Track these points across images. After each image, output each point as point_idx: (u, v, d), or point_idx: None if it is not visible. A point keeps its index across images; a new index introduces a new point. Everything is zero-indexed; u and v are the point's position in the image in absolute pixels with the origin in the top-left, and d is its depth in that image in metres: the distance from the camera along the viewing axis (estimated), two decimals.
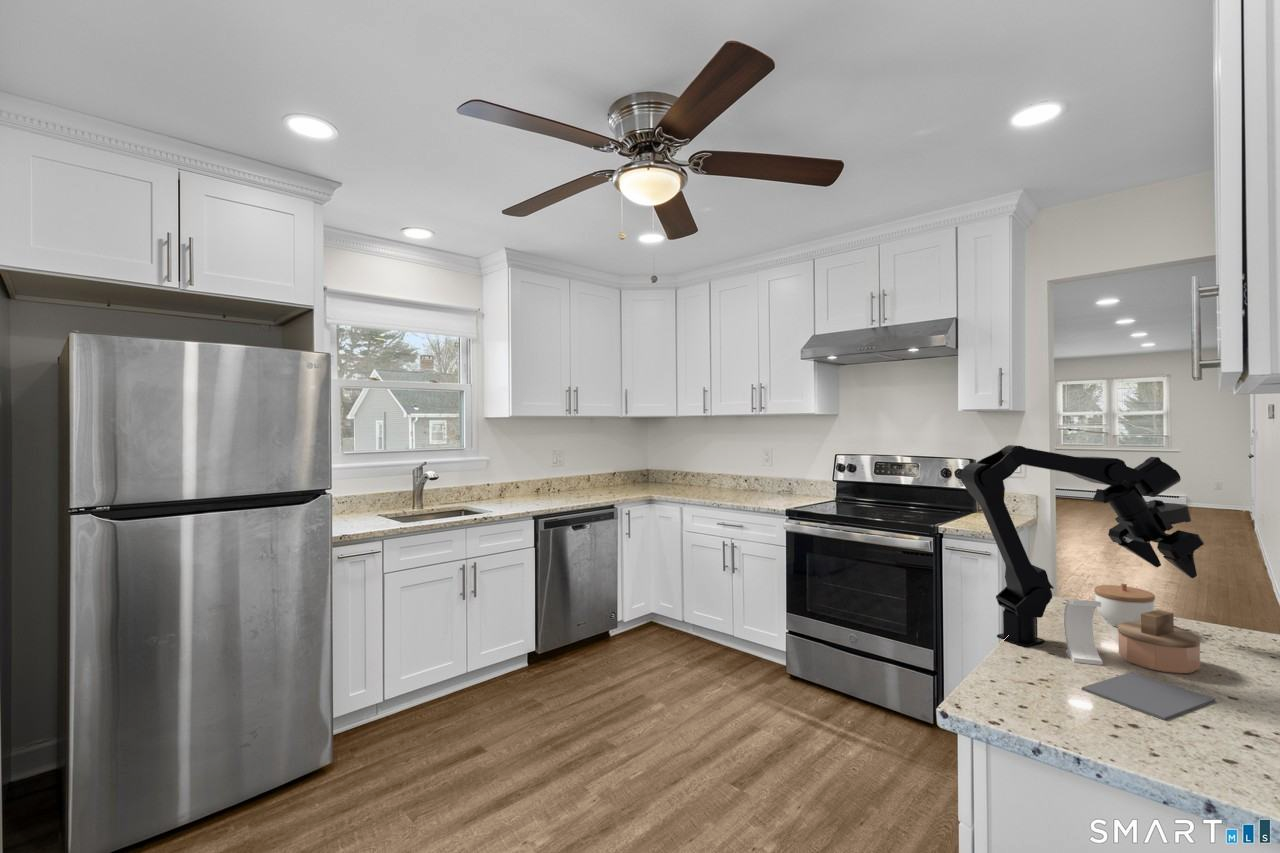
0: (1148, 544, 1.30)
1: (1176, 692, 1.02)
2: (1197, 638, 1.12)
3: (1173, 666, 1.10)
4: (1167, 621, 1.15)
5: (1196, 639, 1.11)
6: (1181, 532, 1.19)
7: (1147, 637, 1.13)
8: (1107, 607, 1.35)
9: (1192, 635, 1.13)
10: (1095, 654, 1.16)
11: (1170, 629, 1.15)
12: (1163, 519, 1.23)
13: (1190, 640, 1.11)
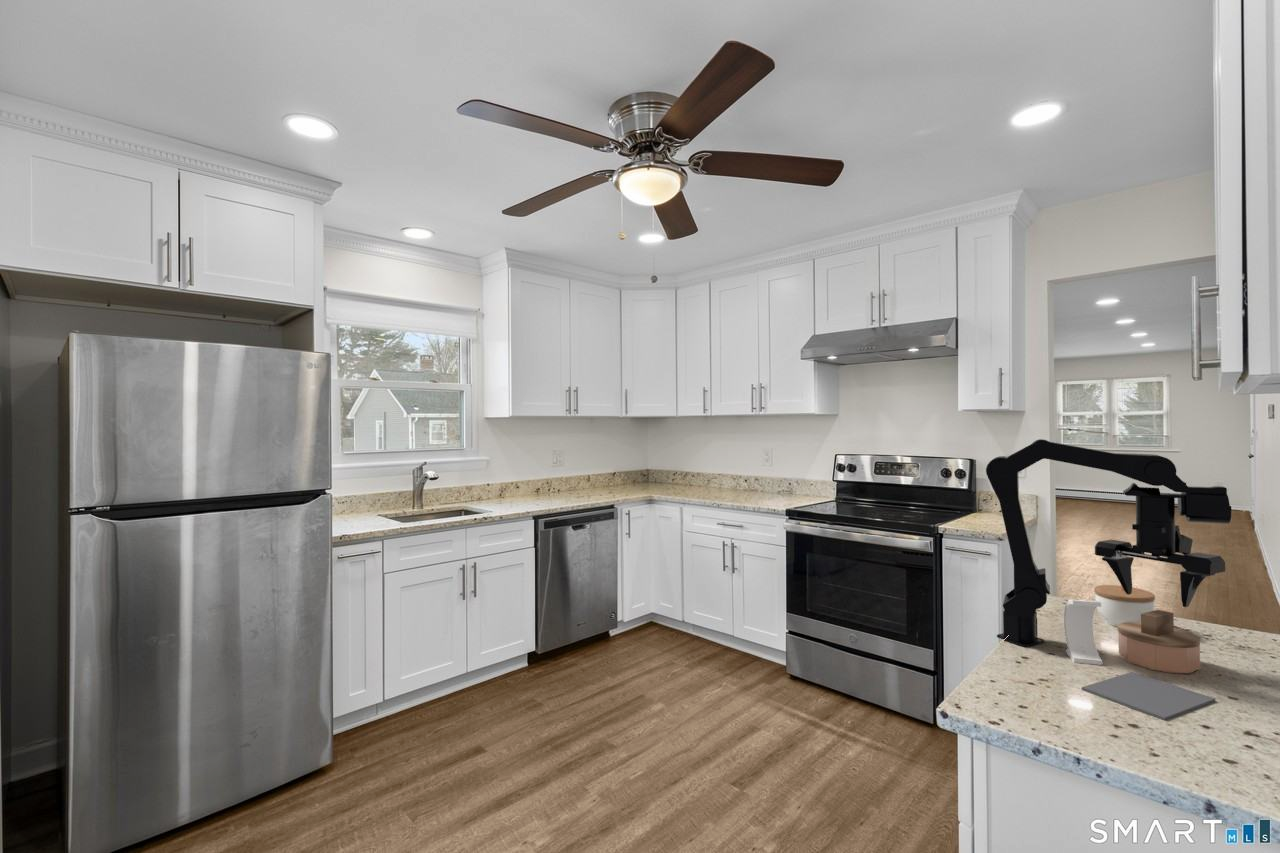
0: (1129, 568, 1.20)
1: (1176, 692, 1.02)
2: (1197, 638, 1.12)
3: (1173, 666, 1.10)
4: (1167, 621, 1.15)
5: (1196, 639, 1.11)
6: (1205, 554, 1.10)
7: (1147, 637, 1.13)
8: (1107, 607, 1.35)
9: (1192, 635, 1.13)
10: (1095, 654, 1.16)
11: (1170, 629, 1.15)
12: (1180, 539, 1.14)
13: (1190, 640, 1.11)
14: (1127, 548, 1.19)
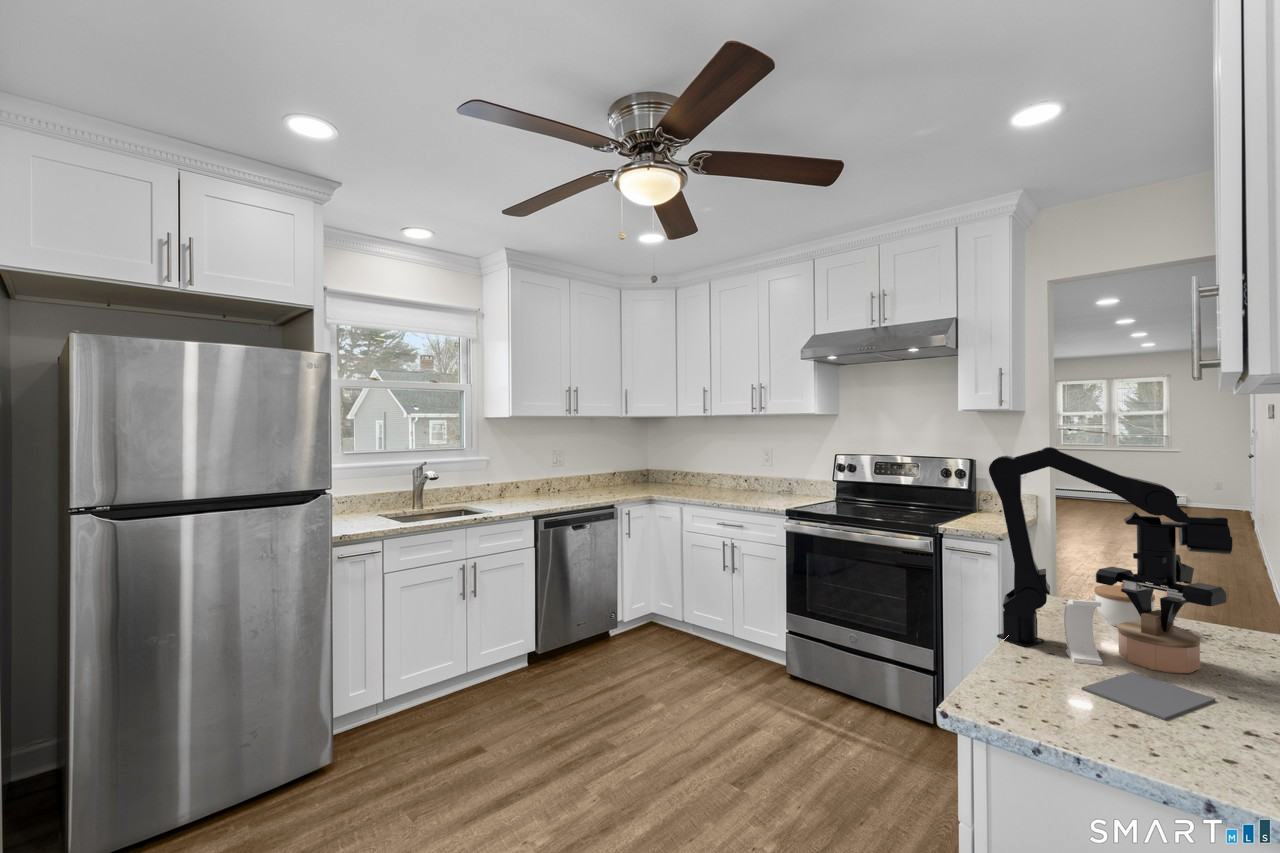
0: (1149, 600, 1.17)
1: (1176, 692, 1.02)
2: (1197, 638, 1.12)
3: (1173, 666, 1.10)
4: None
5: (1196, 639, 1.11)
6: (1206, 584, 1.10)
7: (1147, 637, 1.13)
8: (1107, 607, 1.35)
9: (1192, 635, 1.13)
10: (1095, 654, 1.16)
11: (1170, 629, 1.15)
12: (1181, 569, 1.14)
13: (1190, 640, 1.11)
14: (1128, 576, 1.19)
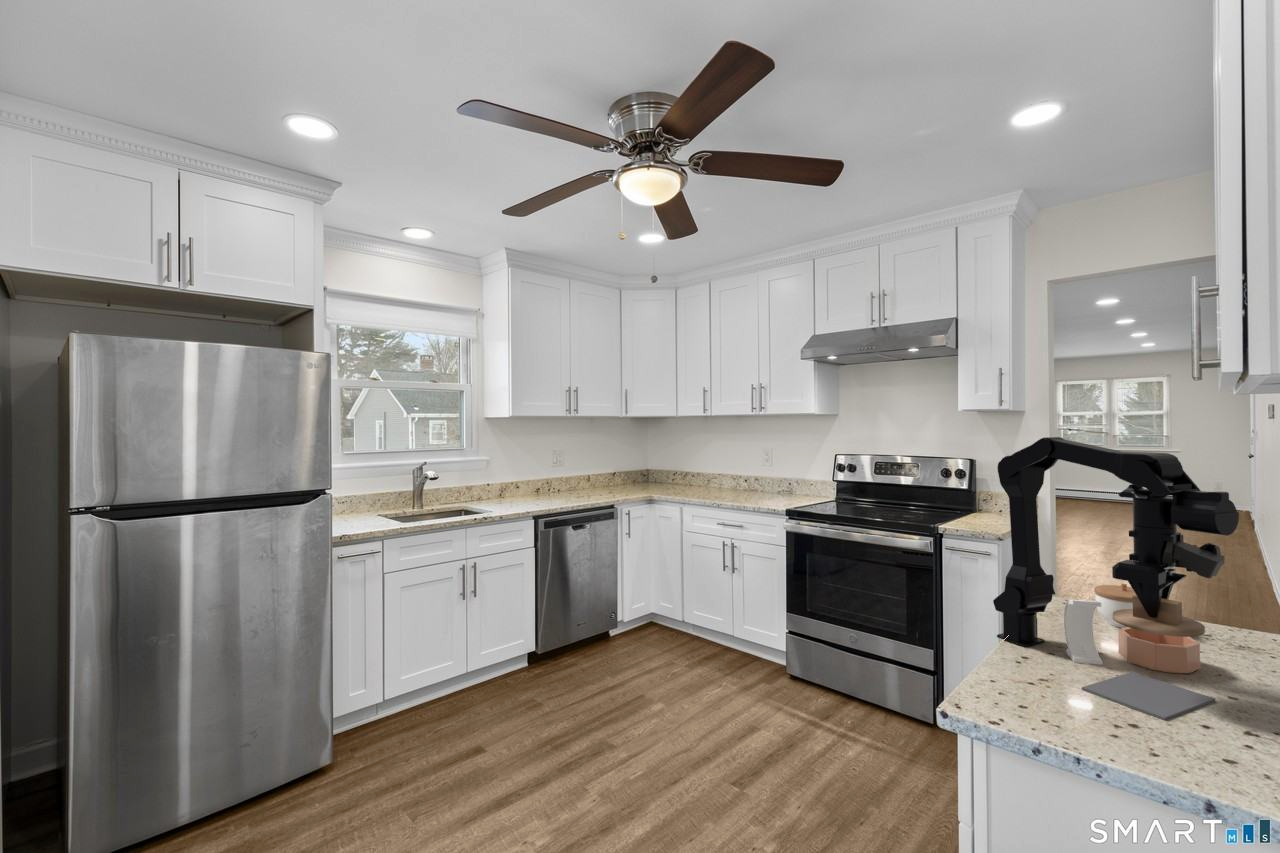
0: (1166, 587, 1.03)
1: (1176, 692, 1.02)
2: (1164, 629, 0.98)
3: (1173, 666, 1.10)
4: (1160, 609, 1.02)
5: (1157, 628, 0.99)
6: (1152, 565, 0.98)
7: (1120, 613, 1.07)
8: (1107, 607, 1.35)
9: (1174, 629, 0.98)
10: (1095, 654, 1.16)
11: (1168, 620, 1.01)
12: (1166, 551, 1.00)
13: (1147, 625, 1.00)
14: None
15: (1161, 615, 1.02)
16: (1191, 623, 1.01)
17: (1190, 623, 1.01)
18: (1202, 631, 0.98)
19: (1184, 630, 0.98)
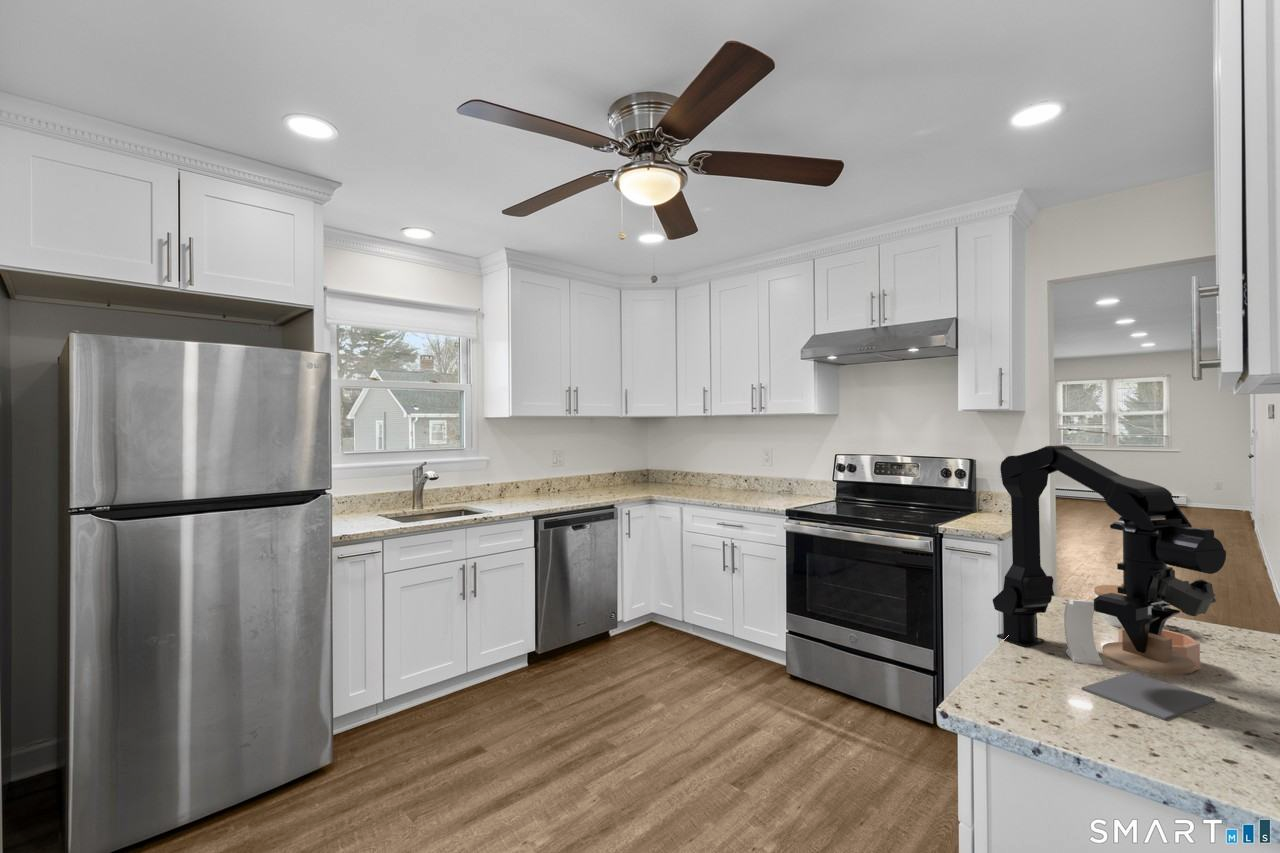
0: (1157, 622, 1.02)
1: (1176, 692, 1.02)
2: (1146, 665, 0.97)
3: None
4: (1149, 644, 1.00)
5: (1139, 664, 0.98)
6: (1133, 599, 0.97)
7: (1111, 646, 1.06)
8: None
9: (1157, 666, 0.97)
10: (1095, 654, 1.16)
11: (1155, 656, 0.99)
12: (1152, 586, 0.98)
13: (1131, 660, 0.99)
14: None
15: (1149, 651, 1.00)
16: (1182, 661, 0.99)
17: (1181, 661, 0.99)
18: (1189, 670, 0.96)
19: (1168, 668, 0.96)
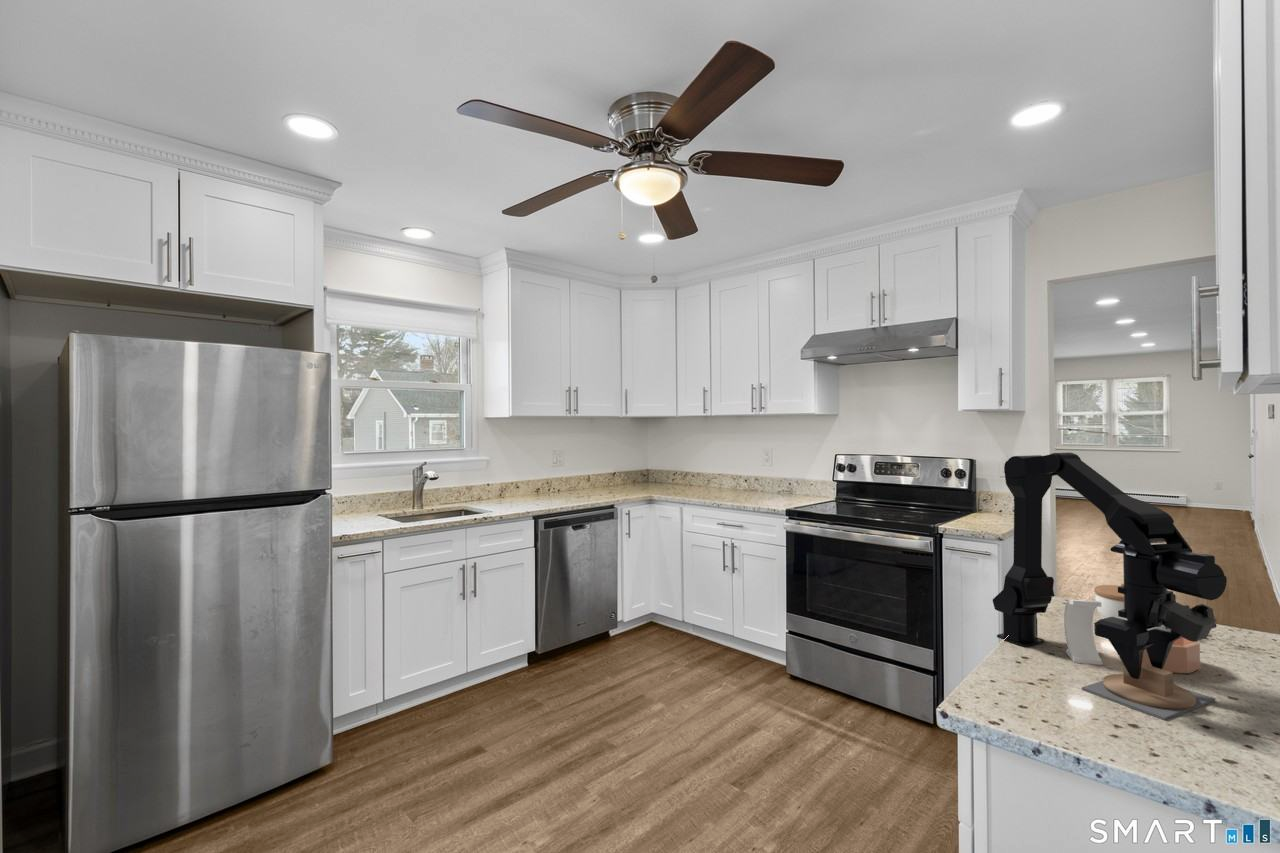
0: (1164, 644, 1.02)
1: None
2: (1147, 700, 0.97)
3: (1173, 666, 1.10)
4: (1149, 678, 1.00)
5: (1140, 698, 0.98)
6: (1133, 624, 0.97)
7: (1112, 678, 1.06)
8: (1107, 607, 1.35)
9: (1158, 701, 0.97)
10: (1095, 654, 1.16)
11: (1156, 690, 0.99)
12: (1152, 610, 0.98)
13: (1132, 694, 0.99)
14: None
15: (1150, 684, 1.00)
16: (1183, 695, 0.99)
17: (1182, 695, 0.99)
18: (1190, 705, 0.96)
19: (1169, 702, 0.96)
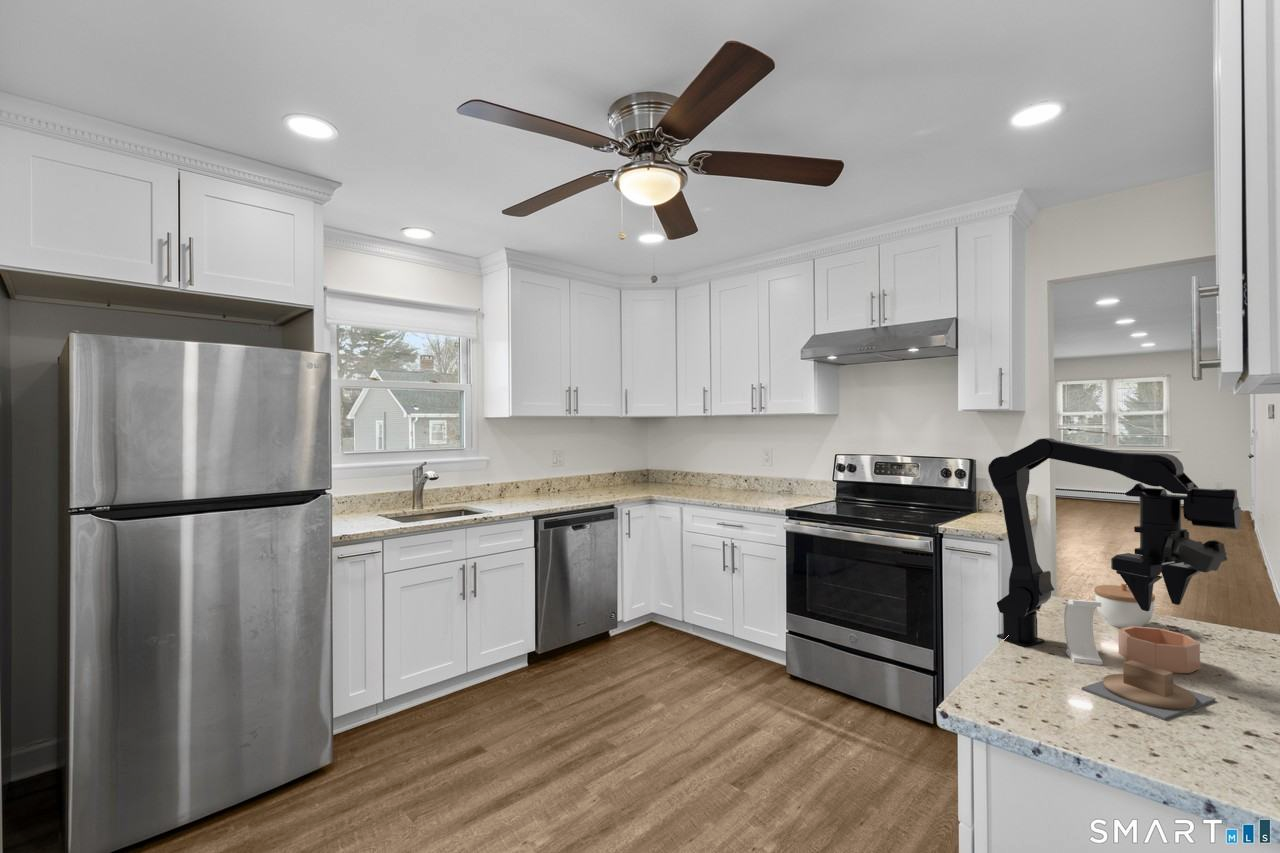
0: (1183, 578, 1.10)
1: None
2: (1147, 700, 0.97)
3: (1173, 666, 1.10)
4: (1149, 678, 1.00)
5: (1140, 698, 0.98)
6: (1148, 558, 1.05)
7: (1112, 678, 1.06)
8: (1107, 607, 1.35)
9: (1158, 701, 0.97)
10: (1095, 654, 1.16)
11: (1156, 690, 0.99)
12: (1166, 546, 1.06)
13: (1132, 695, 0.99)
14: None
15: (1150, 684, 1.00)
16: (1183, 695, 0.99)
17: (1182, 695, 0.99)
18: (1190, 705, 0.96)
19: (1169, 703, 0.96)
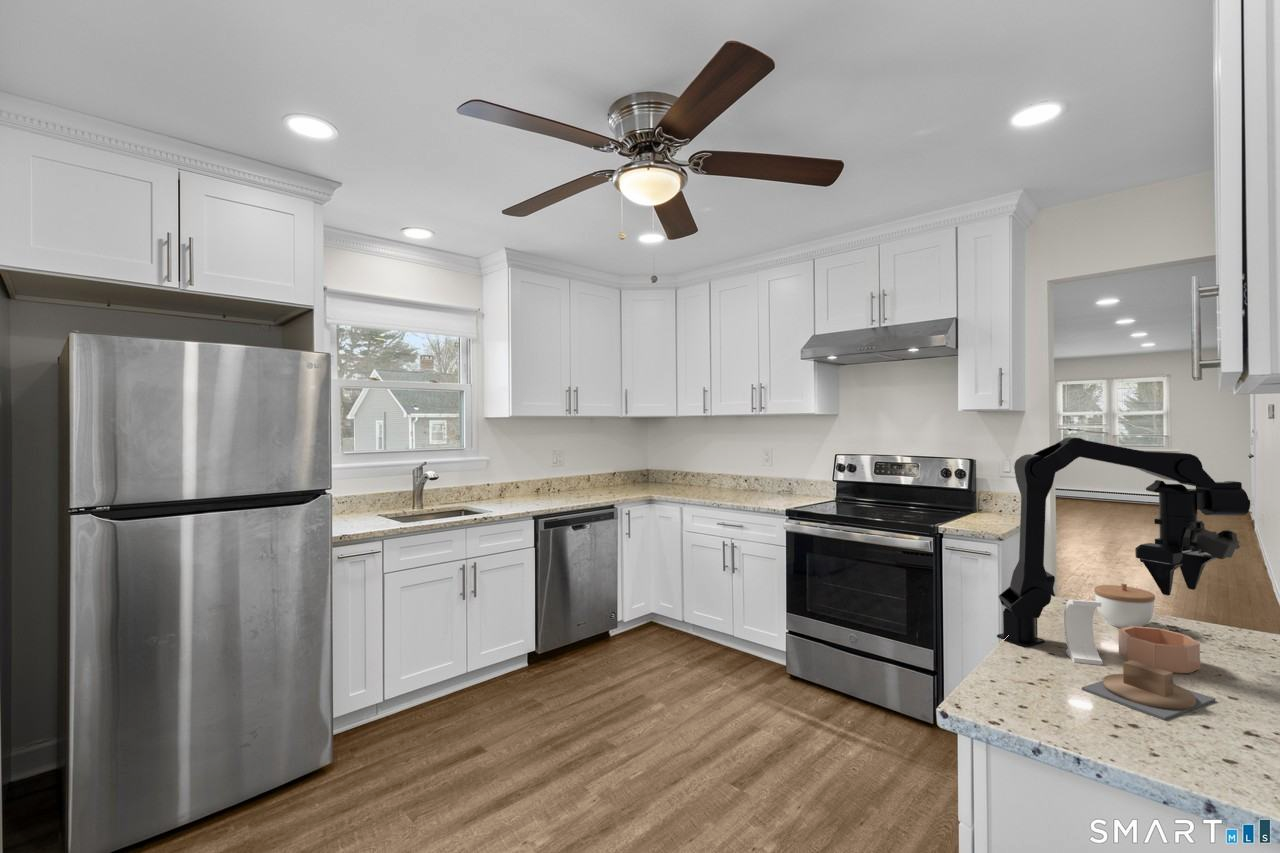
0: (1198, 566, 1.21)
1: None
2: (1147, 700, 0.97)
3: (1173, 666, 1.10)
4: (1149, 678, 1.00)
5: (1140, 698, 0.98)
6: (1169, 547, 1.16)
7: (1112, 678, 1.06)
8: (1107, 607, 1.35)
9: (1158, 701, 0.97)
10: (1095, 654, 1.16)
11: (1156, 690, 0.99)
12: (1185, 536, 1.17)
13: (1132, 695, 0.99)
14: None
15: (1150, 684, 1.00)
16: (1183, 695, 0.99)
17: (1182, 695, 0.99)
18: (1190, 705, 0.96)
19: (1169, 703, 0.96)
